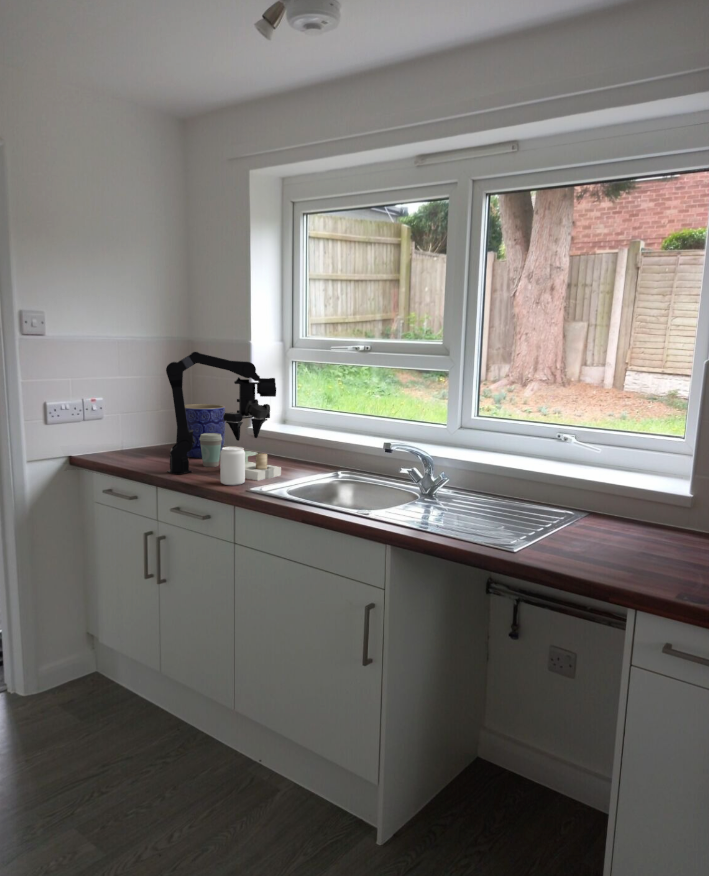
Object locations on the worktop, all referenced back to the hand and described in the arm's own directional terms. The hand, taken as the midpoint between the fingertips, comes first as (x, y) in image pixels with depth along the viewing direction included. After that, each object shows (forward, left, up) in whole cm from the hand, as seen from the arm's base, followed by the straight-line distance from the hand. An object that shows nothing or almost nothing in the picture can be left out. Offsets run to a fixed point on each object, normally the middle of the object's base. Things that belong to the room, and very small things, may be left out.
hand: (247, 439), depth 249 cm
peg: (+10, -3, -12) cm, 16 cm away
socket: (+6, -3, -12) cm, 14 cm away
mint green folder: (-1, -2, -12) cm, 12 cm away
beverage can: (+11, -18, -12) cm, 24 cm away
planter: (-36, +11, -12) cm, 40 cm away
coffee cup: (-18, -1, -12) cm, 22 cm away
